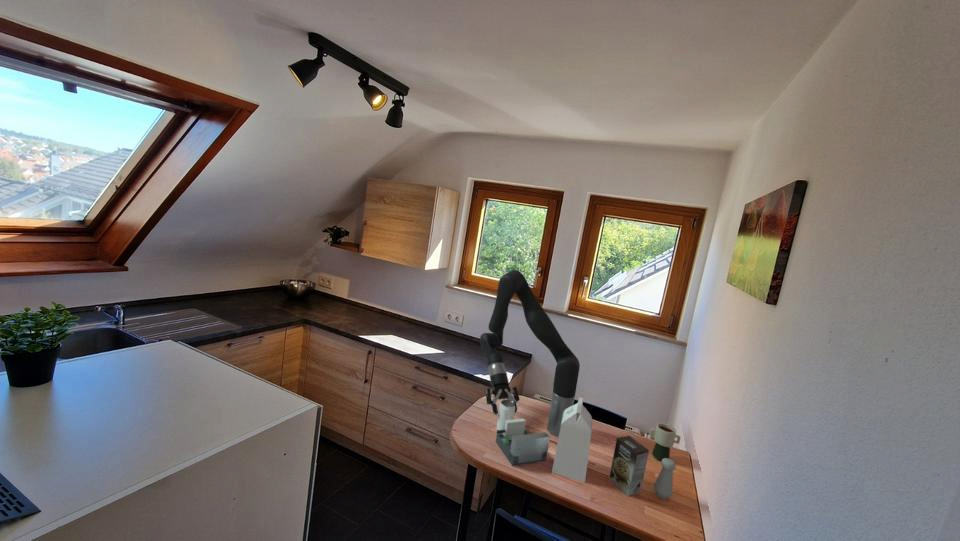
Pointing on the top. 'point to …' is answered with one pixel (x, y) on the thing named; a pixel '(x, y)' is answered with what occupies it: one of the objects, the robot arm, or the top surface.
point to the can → (505, 413)
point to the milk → (573, 443)
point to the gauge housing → (524, 447)
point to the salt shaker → (665, 479)
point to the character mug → (663, 440)
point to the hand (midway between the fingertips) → (505, 413)
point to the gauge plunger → (513, 428)
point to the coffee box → (628, 465)
